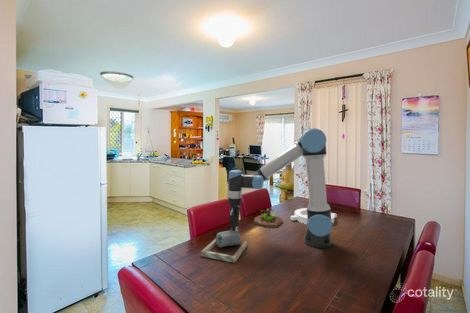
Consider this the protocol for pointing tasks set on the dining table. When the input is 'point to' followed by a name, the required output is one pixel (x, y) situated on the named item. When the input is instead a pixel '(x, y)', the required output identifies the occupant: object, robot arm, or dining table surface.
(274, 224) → the plant
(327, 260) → the dining table surface
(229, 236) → the streaked grey egg
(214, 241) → the bay
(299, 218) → the ring with crossbar
